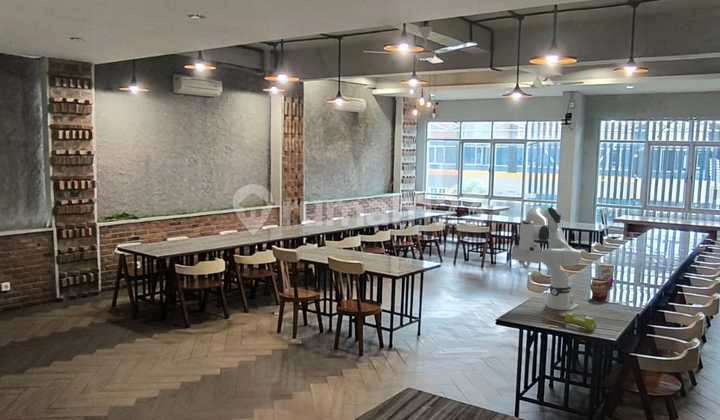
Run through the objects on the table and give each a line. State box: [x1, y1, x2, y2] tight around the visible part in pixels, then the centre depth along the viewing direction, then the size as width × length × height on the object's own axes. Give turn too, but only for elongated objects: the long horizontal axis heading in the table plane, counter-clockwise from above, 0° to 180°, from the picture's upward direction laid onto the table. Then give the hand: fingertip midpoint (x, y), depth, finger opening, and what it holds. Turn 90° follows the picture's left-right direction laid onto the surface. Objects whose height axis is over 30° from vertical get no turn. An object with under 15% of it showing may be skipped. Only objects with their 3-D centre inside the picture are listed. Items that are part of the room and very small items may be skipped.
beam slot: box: [542, 313, 597, 333], centre depth 342 cm, size 14×26×2 cm, turn 41°
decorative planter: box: [590, 278, 610, 302], centre depth 404 cm, size 20×12×14 cm, turn 150°
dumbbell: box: [564, 312, 596, 332], centre depth 336 cm, size 16×8×7 cm, turn 41°
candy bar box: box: [596, 263, 615, 287], centre depth 446 cm, size 11×5×16 cm, turn 72°
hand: (525, 268), depth 361 cm, fingers closed
